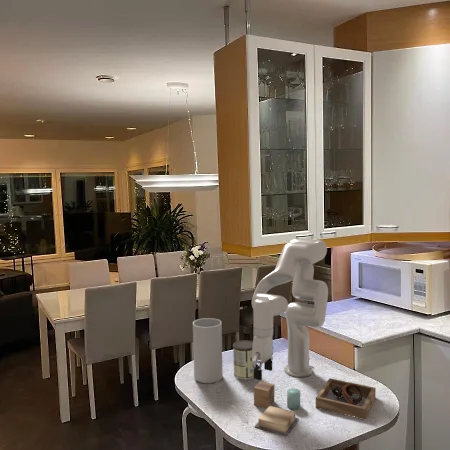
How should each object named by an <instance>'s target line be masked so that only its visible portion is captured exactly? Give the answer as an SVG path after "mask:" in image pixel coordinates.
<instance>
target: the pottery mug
mask: <svg viewBox="0 0 450 450" xmlns="http://www.w3.org/2000/svg"><path fill="white" fill-rule="evenodd" d="M352 383H353V382H350V384H346V385H344V386H342V387H339V386H333V387H332V388H331V391H330V392H331V393H332V394H333V395H334V396H335V397H336V399H337V400H340V399H341V397H344V399H345V400H346V401H347V403H348V404H352V405H357V406H359V404H361V403H362V401H363V399H364V396H363V392H362V390H361V388H360V387H359V386H357V385H355V384H356V383H355V384H352ZM352 387H355V388H357V390H359V391H360V395H359V397H353V395H354V394H353V392H351V391H349V389H350V388H352ZM351 396H352V399H351Z"/></svg>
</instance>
